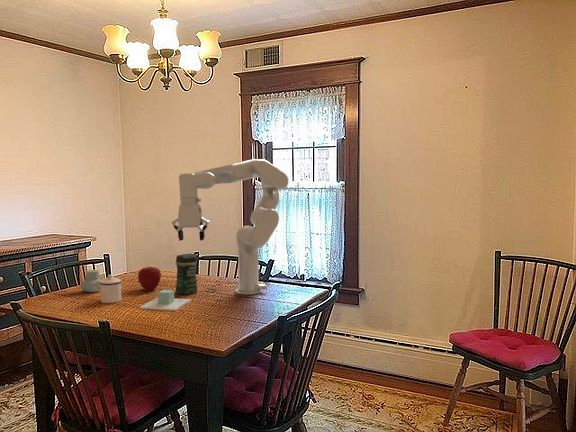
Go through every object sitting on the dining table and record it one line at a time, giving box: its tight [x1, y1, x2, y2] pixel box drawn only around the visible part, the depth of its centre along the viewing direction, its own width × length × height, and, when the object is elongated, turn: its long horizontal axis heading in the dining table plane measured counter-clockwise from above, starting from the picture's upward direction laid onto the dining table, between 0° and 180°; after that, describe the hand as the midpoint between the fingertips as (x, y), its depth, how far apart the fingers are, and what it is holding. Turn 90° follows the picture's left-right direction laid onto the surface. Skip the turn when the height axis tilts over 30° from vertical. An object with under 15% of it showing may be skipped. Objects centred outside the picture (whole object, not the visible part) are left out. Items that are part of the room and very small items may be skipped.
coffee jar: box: [175, 253, 198, 295], centre depth 236 cm, size 10×8×19 cm
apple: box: [137, 265, 162, 292], centre depth 243 cm, size 11×11×12 cm
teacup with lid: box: [99, 274, 122, 304], centre depth 222 cm, size 12×9×12 cm
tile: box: [139, 296, 192, 312], centre depth 216 cm, size 16×16×1 cm
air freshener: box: [80, 269, 102, 294], centre depth 239 cm, size 11×8×10 cm
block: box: [157, 289, 175, 304], centre depth 215 cm, size 5×5×5 cm
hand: (191, 240), depth 221 cm, fingers open, 9 cm apart
